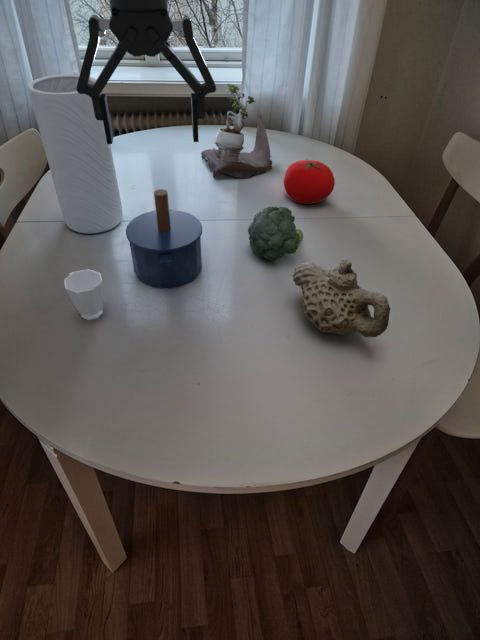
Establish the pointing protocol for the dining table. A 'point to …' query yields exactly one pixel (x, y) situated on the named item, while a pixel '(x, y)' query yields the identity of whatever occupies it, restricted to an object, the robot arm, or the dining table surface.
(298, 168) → the tomato
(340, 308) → the teapot
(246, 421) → the dining table surface
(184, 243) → the pot lid
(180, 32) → the robot arm
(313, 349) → the dining table surface
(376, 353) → the dining table surface
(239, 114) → the potted plant
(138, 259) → the pot
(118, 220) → the vase
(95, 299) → the cup
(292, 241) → the vegetable
